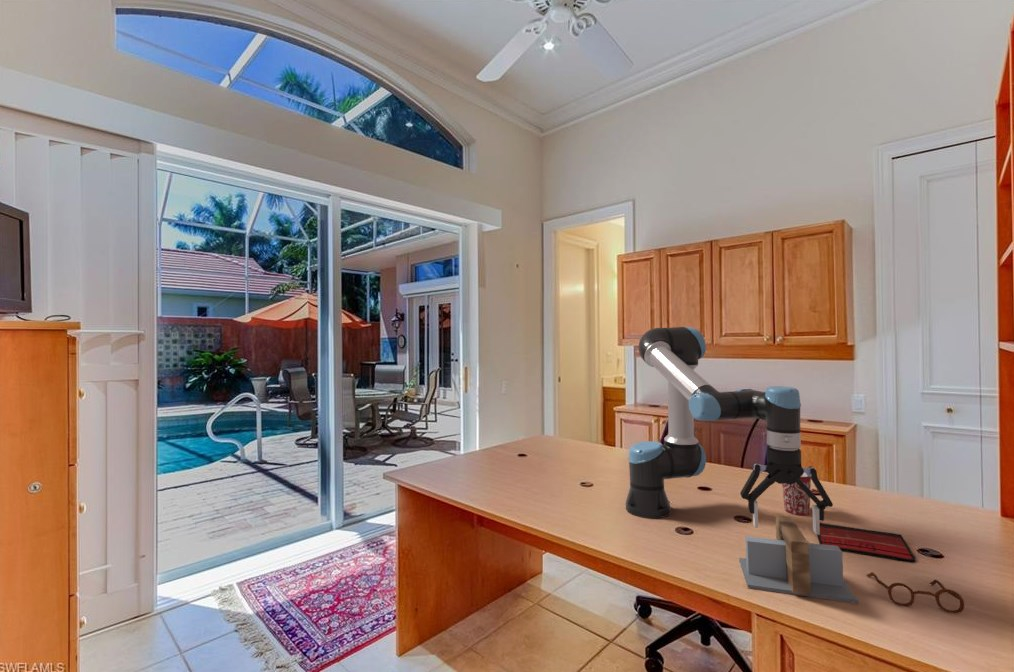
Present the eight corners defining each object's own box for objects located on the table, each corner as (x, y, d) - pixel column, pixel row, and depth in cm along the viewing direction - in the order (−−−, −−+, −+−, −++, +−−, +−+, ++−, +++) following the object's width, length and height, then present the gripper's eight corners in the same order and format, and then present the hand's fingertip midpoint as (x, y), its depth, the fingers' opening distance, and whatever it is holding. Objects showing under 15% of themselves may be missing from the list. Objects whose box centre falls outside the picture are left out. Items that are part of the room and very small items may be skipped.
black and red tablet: (814, 521, 140) (901, 533, 130) (814, 528, 140) (901, 541, 130) (820, 543, 127) (918, 559, 116) (820, 552, 127) (918, 568, 116)
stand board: (747, 587, 107) (746, 550, 108) (739, 560, 121) (738, 527, 121) (858, 603, 100) (856, 563, 100) (836, 572, 113) (834, 537, 113)
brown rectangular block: (793, 593, 103) (791, 541, 104) (777, 560, 118) (775, 515, 119) (810, 595, 102) (808, 542, 102) (792, 562, 117) (790, 516, 117)
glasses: (890, 606, 99) (889, 583, 100) (866, 577, 112) (865, 556, 112) (966, 617, 95) (965, 593, 95) (932, 585, 107) (931, 564, 107)
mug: (809, 519, 146) (807, 478, 147) (778, 512, 153) (776, 472, 153) (818, 508, 155) (816, 469, 155) (788, 502, 162) (787, 465, 162)
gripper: (731, 447, 116) (733, 528, 116) (847, 454, 107) (848, 542, 107) (728, 440, 123) (729, 517, 123) (836, 446, 114) (837, 528, 114)
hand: (785, 529), depth 115 cm, fingers open, 13 cm apart
